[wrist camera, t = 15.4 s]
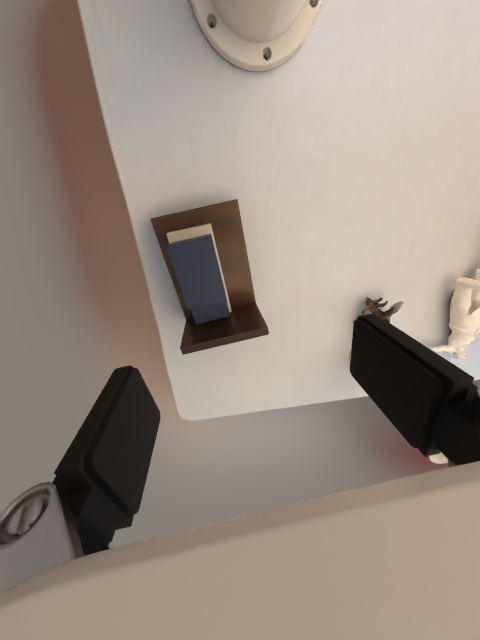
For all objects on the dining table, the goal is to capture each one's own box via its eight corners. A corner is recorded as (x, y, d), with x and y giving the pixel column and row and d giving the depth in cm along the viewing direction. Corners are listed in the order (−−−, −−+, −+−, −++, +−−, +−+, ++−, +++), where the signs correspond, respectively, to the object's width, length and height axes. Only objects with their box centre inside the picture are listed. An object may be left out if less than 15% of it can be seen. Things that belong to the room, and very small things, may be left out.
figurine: (548, 253, 32) (515, 346, 40) (501, 249, 36) (480, 333, 45) (450, 304, 30) (438, 388, 39) (414, 293, 35) (410, 370, 44)
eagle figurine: (337, 312, 35) (351, 359, 38) (386, 312, 29) (398, 367, 32) (360, 292, 39) (371, 336, 41) (408, 289, 33) (418, 340, 35)
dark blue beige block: (168, 232, 25) (160, 236, 21) (210, 222, 25) (210, 225, 21) (195, 315, 30) (193, 332, 26) (230, 307, 30) (234, 323, 26)
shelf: (156, 217, 27) (129, 221, 18) (234, 200, 27) (246, 195, 18) (189, 316, 34) (182, 354, 25) (253, 301, 34) (269, 334, 25)
